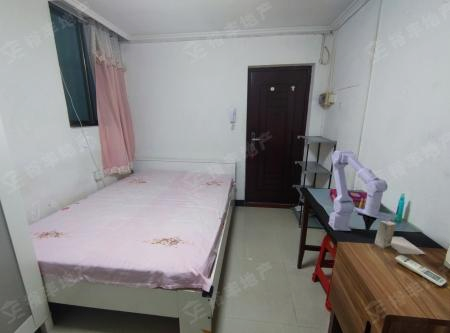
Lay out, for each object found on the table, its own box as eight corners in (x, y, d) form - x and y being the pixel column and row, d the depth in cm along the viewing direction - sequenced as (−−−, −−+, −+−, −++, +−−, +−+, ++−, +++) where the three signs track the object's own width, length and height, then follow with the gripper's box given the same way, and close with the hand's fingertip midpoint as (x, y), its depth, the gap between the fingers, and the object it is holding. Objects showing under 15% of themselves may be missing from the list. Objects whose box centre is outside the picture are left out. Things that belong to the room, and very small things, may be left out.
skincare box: (383, 248, 105) (388, 225, 102) (373, 243, 109) (378, 221, 106) (391, 245, 107) (396, 223, 104) (381, 241, 111) (387, 219, 108)
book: (329, 196, 172) (330, 187, 171) (368, 200, 166) (370, 191, 164) (334, 206, 153) (336, 196, 151) (379, 212, 146) (382, 202, 144)
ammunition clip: (357, 214, 140) (361, 197, 137) (357, 213, 142) (360, 196, 139) (377, 218, 136) (381, 200, 133) (376, 217, 138) (380, 199, 135)
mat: (400, 253, 101) (400, 252, 101) (380, 237, 115) (380, 236, 115) (425, 254, 101) (425, 253, 101) (401, 237, 115) (402, 236, 114)
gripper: (393, 206, 100) (387, 232, 104) (358, 197, 111) (353, 221, 114) (389, 211, 96) (383, 238, 99) (354, 200, 106) (349, 225, 109)
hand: (367, 229), depth 106 cm, fingers closed
